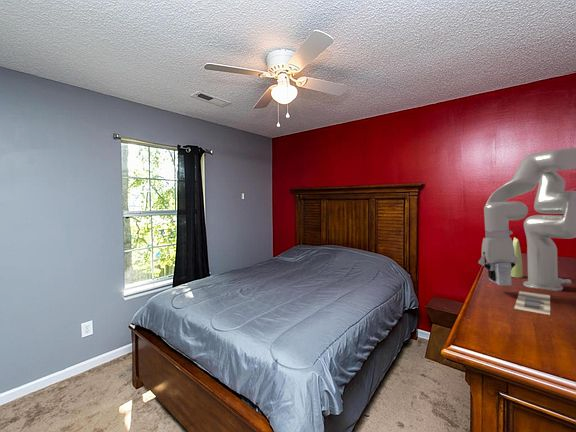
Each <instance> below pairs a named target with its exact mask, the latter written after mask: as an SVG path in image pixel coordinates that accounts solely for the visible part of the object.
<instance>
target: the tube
mask: <svg viewBox="0 0 576 432" xmlns="http://www.w3.org/2000/svg"><path fill="white" fill-rule="evenodd" d="M512 242H513V246H514V251H515V256H516V257H517V258H518V259H519V260H520V262H519V263H518V264H516V265H515V266H514V267H513V268H512V270H511V278H512V277H513V278H518V279H520V278H523V277H524V276H523V275H524V274H523V272H524V271H523V260H522V259H523V258H522V252H521V246H520V241H519V239H518V238H516V237H513V240H512Z"/></svg>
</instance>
